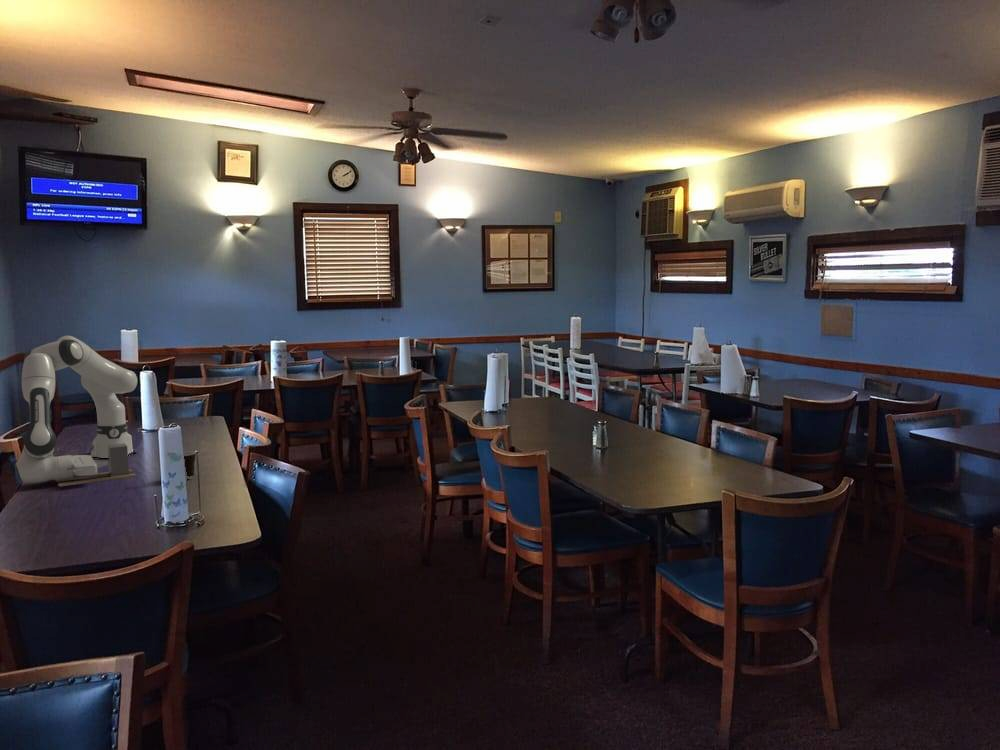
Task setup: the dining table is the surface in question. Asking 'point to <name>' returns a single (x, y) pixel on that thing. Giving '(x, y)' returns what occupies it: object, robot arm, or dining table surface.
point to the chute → (94, 479)
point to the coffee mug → (189, 462)
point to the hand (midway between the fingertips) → (107, 462)
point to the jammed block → (118, 459)
